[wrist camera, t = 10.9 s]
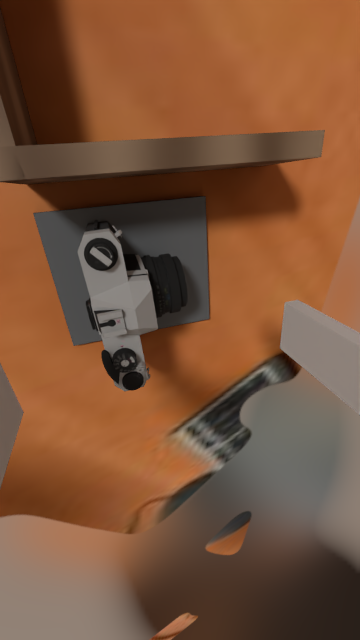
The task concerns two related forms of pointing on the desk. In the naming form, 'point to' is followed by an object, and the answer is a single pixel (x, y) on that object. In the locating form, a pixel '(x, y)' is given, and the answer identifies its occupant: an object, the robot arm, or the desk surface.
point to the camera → (127, 299)
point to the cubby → (127, 145)
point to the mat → (137, 238)
